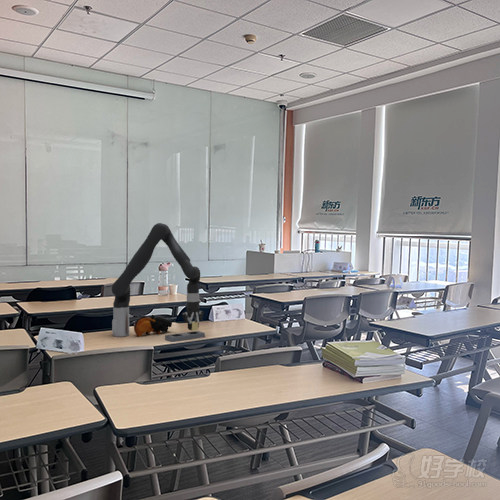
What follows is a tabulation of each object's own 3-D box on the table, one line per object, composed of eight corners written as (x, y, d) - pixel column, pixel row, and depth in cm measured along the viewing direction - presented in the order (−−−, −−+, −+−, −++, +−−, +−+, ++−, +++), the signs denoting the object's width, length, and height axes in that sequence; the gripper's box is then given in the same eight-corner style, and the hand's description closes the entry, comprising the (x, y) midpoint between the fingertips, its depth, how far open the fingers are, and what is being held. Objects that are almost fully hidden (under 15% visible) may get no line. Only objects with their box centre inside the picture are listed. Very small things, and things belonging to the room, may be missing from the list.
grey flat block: (171, 342, 279) (171, 337, 279) (165, 339, 285) (165, 335, 285) (204, 337, 293) (204, 332, 293) (197, 334, 299) (197, 330, 299)
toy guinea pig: (166, 345, 303) (175, 321, 305) (134, 335, 290) (143, 311, 292) (160, 342, 309) (169, 319, 312) (128, 333, 296) (137, 309, 299)
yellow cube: (192, 330, 289) (192, 323, 289) (188, 329, 293) (188, 322, 293) (198, 329, 292) (198, 322, 292) (194, 328, 295) (194, 321, 295)
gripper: (199, 298, 299) (200, 326, 300) (179, 300, 290) (179, 329, 291) (206, 300, 293) (206, 328, 294) (185, 302, 284) (186, 331, 285)
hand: (193, 329), depth 292 cm, fingers closed on yellow cube, 4 cm apart
